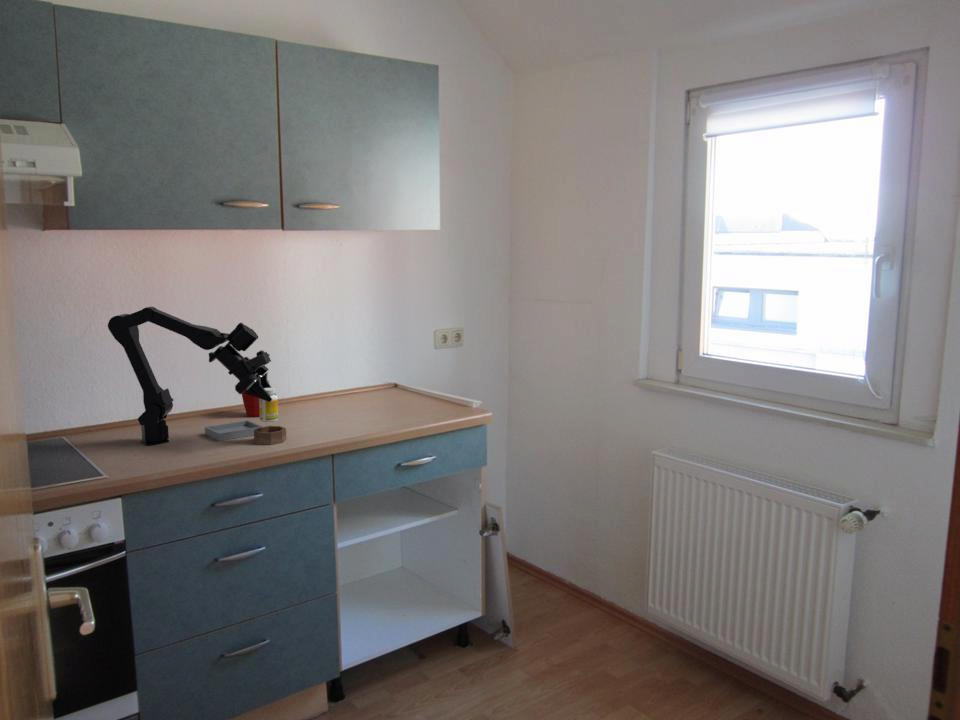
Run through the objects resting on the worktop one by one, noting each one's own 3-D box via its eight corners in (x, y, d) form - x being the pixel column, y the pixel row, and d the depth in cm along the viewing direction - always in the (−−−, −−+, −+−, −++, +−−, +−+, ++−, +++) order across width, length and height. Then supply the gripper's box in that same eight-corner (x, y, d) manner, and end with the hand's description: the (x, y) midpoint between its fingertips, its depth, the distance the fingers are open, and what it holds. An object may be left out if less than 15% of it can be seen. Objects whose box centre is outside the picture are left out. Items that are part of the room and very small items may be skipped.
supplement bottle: (256, 421, 227) (255, 390, 226) (266, 417, 232) (265, 386, 231) (272, 423, 226) (271, 391, 224) (281, 419, 231) (280, 387, 229)
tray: (219, 441, 229) (218, 433, 229) (205, 434, 238) (204, 426, 237) (262, 433, 238) (262, 426, 238) (247, 427, 247) (247, 420, 246)
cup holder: (263, 446, 224) (262, 434, 223) (250, 440, 230) (250, 429, 230) (290, 441, 230) (289, 429, 229) (277, 435, 236) (276, 424, 235)
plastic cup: (255, 410, 271) (254, 377, 269) (278, 414, 265) (276, 380, 263) (231, 416, 261) (230, 382, 260) (254, 420, 256) (252, 385, 254)
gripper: (245, 347, 216) (285, 386, 218) (260, 339, 234) (297, 374, 237) (217, 374, 217) (258, 412, 219) (235, 364, 235) (272, 399, 237)
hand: (273, 398), depth 228 cm, fingers closed on supplement bottle, 5 cm apart
